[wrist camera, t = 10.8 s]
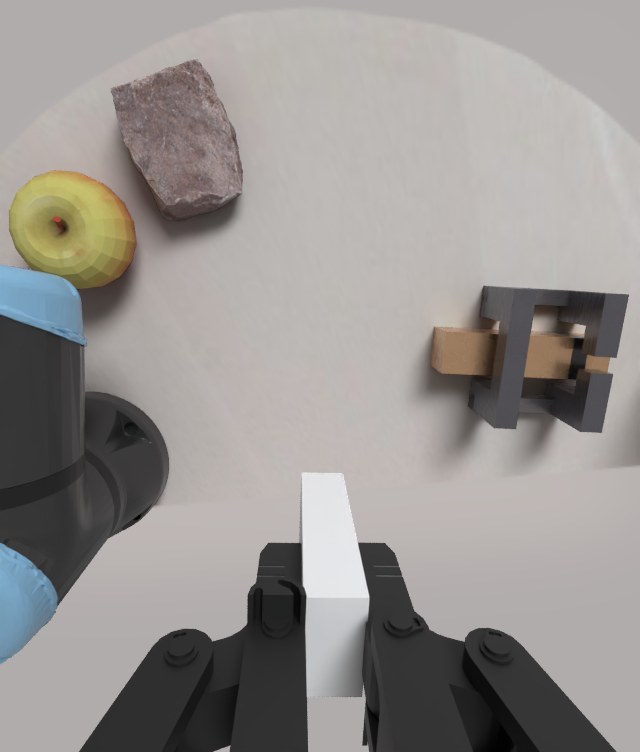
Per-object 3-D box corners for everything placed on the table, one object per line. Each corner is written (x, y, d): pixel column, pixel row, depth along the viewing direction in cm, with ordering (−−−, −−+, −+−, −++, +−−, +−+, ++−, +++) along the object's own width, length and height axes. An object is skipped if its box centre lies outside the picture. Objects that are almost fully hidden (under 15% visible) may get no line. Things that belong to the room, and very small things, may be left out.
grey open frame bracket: (468, 406, 49) (494, 428, 42) (483, 285, 46) (514, 288, 39) (560, 410, 49) (601, 432, 42) (581, 291, 46) (629, 294, 39)
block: (430, 365, 48) (441, 373, 44) (434, 326, 47) (446, 331, 43) (581, 371, 48) (605, 380, 44) (588, 334, 47) (613, 339, 43)
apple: (150, 190, 43) (116, 172, 35) (144, 294, 45) (110, 298, 38) (44, 173, 43) (-16, 151, 35) (42, 279, 45) (-14, 281, 37)
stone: (258, 197, 44) (252, 189, 39) (171, 230, 44) (155, 225, 40) (211, 65, 41) (198, 40, 37) (119, 101, 42) (95, 80, 37)
